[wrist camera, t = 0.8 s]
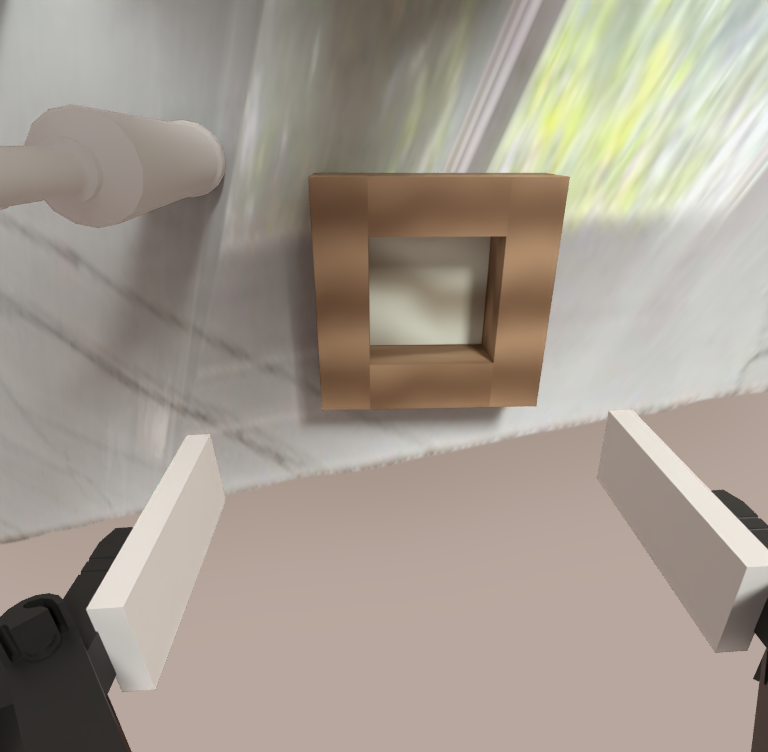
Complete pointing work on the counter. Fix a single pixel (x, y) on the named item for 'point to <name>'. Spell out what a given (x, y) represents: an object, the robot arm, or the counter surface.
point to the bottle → (109, 164)
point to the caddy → (433, 286)
